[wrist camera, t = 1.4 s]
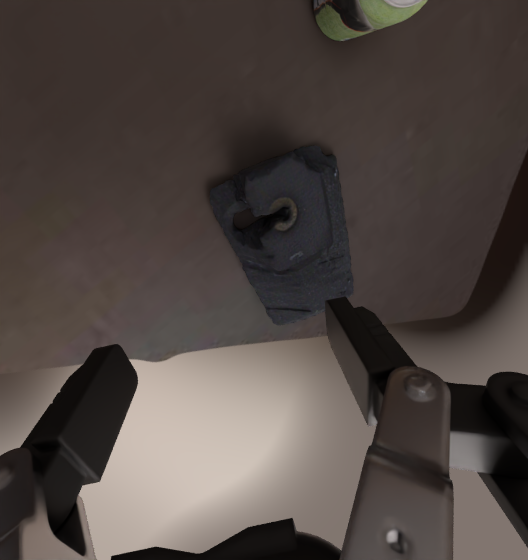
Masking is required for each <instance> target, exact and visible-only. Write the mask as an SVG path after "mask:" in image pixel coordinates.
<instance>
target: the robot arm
mask: <svg viewBox="0 0 528 560" xmlns="http://www.w3.org/2000/svg"><path fill="white" fill-rule="evenodd" d="M325 314H326V325H327V334H328V339H329V342H330V345H331V348H332V350H333V352H334V354H335V356H336V359H337V360H338V363H339V365H340V367H341V369H342V371H343V373H344V376H345V378H346V380H347V382H348V384H349V386H350V388H351V391H352V393H353V395H354V397H355V399H356V401H357V404H358V405H359V408H360V410H361V412H362V414H363V416H364V419H365V421H366V423H367V425H368V426H372V425H377V426H376V431H375V434H374V439H373V442H372V445H371V446H369V448H368V450H367V453H366V457H365V460H364V464H363V468H362V472H361V476H360V480H359V484H358V488H357V492H356V496H355V500H354V504H353V508H352V512H351V515H350V520H349V523H348V528H347V531H346V535H345V539H344V543H343V547H342V551H341V550H340V549H338V548H337V547H335V546H334V545H332V544H331V543H330V542H328V541H326V540H324V539H322V538H320V537H318V536H314V535H312V534H308V533H304V532H298V531H296V528H295V524H294V521H293V519H292V518H290V519H285V520H280V521H276V522H271V523H266V524H261V525H256V526H252V527H248V528H246V529H244V530H242V531H241V532H239V533H238V534H235V535H234V536H232V537H230V538H229V539H227V540H225V541H223V542H222V543H220V544H218V545H216V546H214V547H213V548H211V549H210V550H207V551H206V552H204V553H200V554H195V553H190V552H184V551H178V550H172V549H166V548H161V547H152V548H148V549H143V550H138V551H133V552H128V553H124V554H119V555H114V556H112V557H111V560H453V505H454V503H453V502H454V501H453V500H454V498H453V484H452V480H450V477H449V468H455V469H461V470H468V471H475V472H477V473H478V474H479V476H480V477H481V478H482V480H483V482H484V483H485V484H486V486H487V487H488V489H489V491H490V492H491V494H492V495H493V497H494V498H495V499H496V501H497V502H498V504H499V506H500V507H501V508H502V510H503V512H504V513H505V514H506V516H507V517H508V519H509V520H510V522H511V523H512V525H513V526H514V528H515V529H516V531H517V532H518V534H519V535H520V537H521V538H522V540H523V541H524V543H525V544H526V546H527V547H528V375H525V374H521V373H516V372H499V373H496V374H494V375H492V376H491V377H490V378H489V379H488V381H487V384H486V386H482V385H468V384H455V383H448V382H444V381H443V380H442V379H441V378H440V377H439V376H437V375H436V374H434V373H433V372H430V371H429V370H426V369H423V368H420V367H417V366H416V365H415V364H414V362H413V361H412V360H411V358H410V357H409V356H408V355H407V353H406V352H405V351H404V350H403V348H401V346H400V345H399V344H398V342H397V341H396V340H395V339H394V338H393V336H392V335H391V334H390V333H389V332H388V330H387V329H386V327H385V326H384V325H382V322H381V321H380V320H379V319H378V317H377V316H376V315H375V314H374V313H373V312H371V311H369V310H368V309H366V308H364V307H362V306H361V307H357V308H353V306H352V305H351V303H350V302H349V301H348V299H347V298H346V297H345V296H344V297H339V298H334V299H330V300H325ZM137 384H138V377H137V373H136V371H135V369H134V368H133V366H132V364H131V362H130V361H129V359H128V357H127V356H126V354H125V352H124V351H123V349H122V347H121V346H120V345H118V344H114V345H109V346H105V347H100V348H96V349H94V350H93V351H92V352H91V354H90V355H89V357H88V358H87V360H86V361H85V363H84V364H83V365H82V366H81V367H80V368H79V369H78V370H76V371H75V372H74V373H73V374H72V375H71V376H70V377H69V378H68V380H67V381H66V383H65V384H64V385H63V387H62V388H61V390H60V392H59V393H58V394H57V395H56V397H55V398H54V400H53V403H52V404H50V405H49V407H48V408H47V410H46V411H45V412H44V414H43V415H42V417H41V418H40V420H39V421H38V423H37V424H36V425H35V427H34V428H33V430H32V431H31V433H30V434H29V435H28V437H27V438H26V440H25V441H24V443H23V444H22V445H21V447H20V448H16V449H13V450H10V451H8V452H6V453H4V454H3V455H1V456H0V560H97V559H96V556H95V552H94V548H93V543H92V540H91V534H90V530H89V526H88V521H87V517H86V513H85V508H84V503H83V500H82V498H81V497H80V496H79V495H78V494H79V492H80V490H81V487H82V485H86V484H91V483H96V482H100V480H101V477H102V475H103V472H104V470H105V467H106V465H107V462H108V460H109V457H110V455H111V452H112V450H113V447H114V444H115V442H116V439H117V437H118V434H119V432H120V429H121V427H122V424H123V422H124V419H125V417H126V414H127V411H128V409H129V406H130V404H131V401H132V399H133V396H134V394H135V391H136V388H137Z"/></svg>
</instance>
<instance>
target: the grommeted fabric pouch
mask: <svg viewBox="0 0 528 560" xmlns="http://www.w3.org/2000/svg"><path fill="white" fill-rule="evenodd" d="M233 179H234V180H227V181H225V183H224V184H222V185H218V186H217V187H216V188H212V189H211V191H210V204H211V205H212V207H213V211H214V215H215V217H216V219H217V220H218V221H219V223H220V225H221V227H222V228H223V231H224V234H225V236H226V237H227V239H228V240H229V242H230V244H231V245H232V248H233V249H234V251H235V253H236V255H237V256H238V257H239V258H240V262H241V263H243V270H244V271H245V272H246V275H247V278H248V280H249V282H250V283H251V285H252V286H253V287H254V288H255V289H256V293H257V294H258V295H259V297H260V300H261V301H262V303H263V304H264V306H265V308H266V312H267V314H268V316H269V317H270V318H271V319H272V321H273V323H274V324H276V325H285V324H289V323H294V322H297V321H300V320H303V319H306V318H309V317H312V316H315V315H317V314H319V313H321V312H324V311H325V300H330V299H334V298H339V297H344V296H345V297H346V298H348V297H350V296H351V295H353V291H354V290H353V276H352V273H351V271H350V268H351V263H350V260H351V257H350V255H349V240H348V232H347V228H346V225H345V224H346V220H345V215H344V206H343V198H342V196H341V184H340V183H339V171H338V168H337V160H336V157H335V155H330V156H326V155H323V153H322V152H321V149H320V147H318V146H309V147H301V148H299V149H295V150H294V151H293V152H289V153H286V154H285V155H283V156H279V157H275V158H271V159H268V160H265V161H263V162H261V163H258V164H256V165H254V166H251V167H248V168H246V169H243V170H241V171H240V172H239V173H238V175H234V176H233ZM248 208H251V209H250V211H251V212H252V214H253V215H254V216H255V217H258V216H260V215H269V214H272V213H274V214H273V215H272V216H271V217H270V218H262V219H260V220H258V221H256V222H255V223H253V224H251V225H250V226H249V227H247V228H245V229H243V230H239V229H238V228H236V227H235V226H234V223H233V218H234V215H235V214H236V213H237V212H241V211H243V210H246V209H248Z"/></svg>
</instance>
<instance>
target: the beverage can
mask: <svg viewBox="0 0 528 560" xmlns="http://www.w3.org/2000/svg"><path fill="white" fill-rule="evenodd" d="M427 1H428V0H313V10H314V15H315V18H316V21H317V24H318V26H319V27H320V29H321V30H322V32H323V33H324V34H325V35H326V36H327V37H329V38H331V39H333V40H336V41H345V40H349V39H352V38H355V37H358V36H361V35H364V34H367V33H370V32H373V31H376V30H379V29H382V28H384V27H387V26H390V25H393V24H396V23H399V22H401V21H403V20H405V19H408V18H409V17H410V16H412V15H413V14H415V13H416V12H417V11H418V10H419V9H420V8H421V7H422V6H423V5H424V4H425V3H426V2H427Z"/></svg>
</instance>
